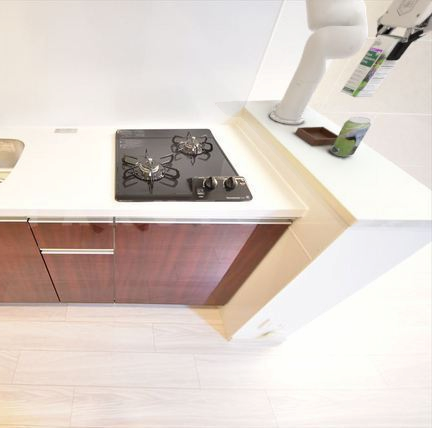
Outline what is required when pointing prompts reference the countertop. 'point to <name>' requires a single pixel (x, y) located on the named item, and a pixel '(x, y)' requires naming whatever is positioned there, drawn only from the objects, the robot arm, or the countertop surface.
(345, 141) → the beverage can
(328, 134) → the tray
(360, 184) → the countertop surface
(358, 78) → the syrup box
